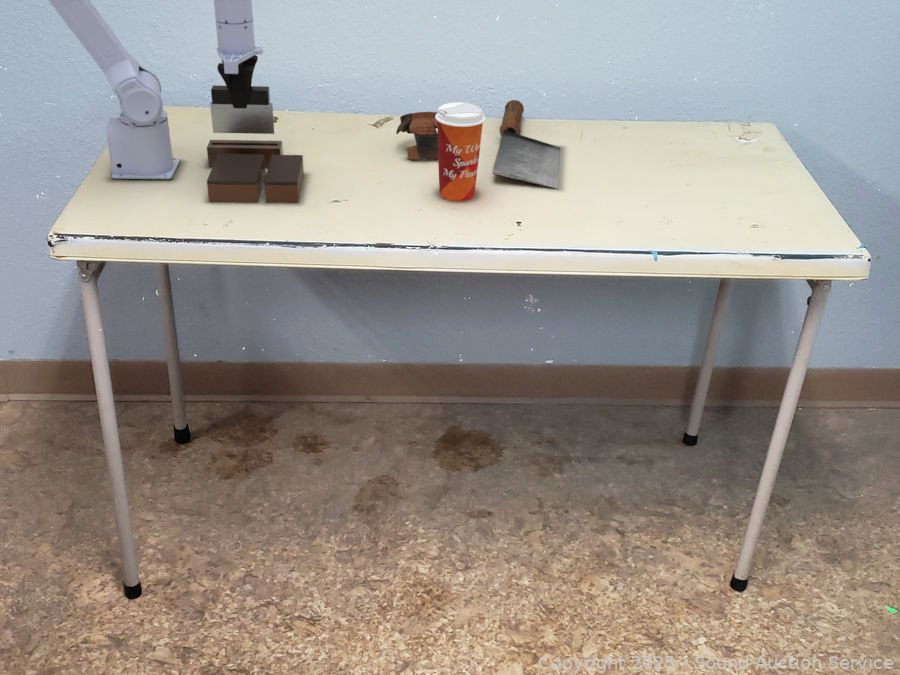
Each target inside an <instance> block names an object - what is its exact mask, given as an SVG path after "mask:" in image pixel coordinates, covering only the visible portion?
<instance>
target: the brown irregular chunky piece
mask: <svg viewBox="0 0 900 675" xmlns="http://www.w3.org/2000/svg"><path fill="white" fill-rule="evenodd" d="M437 113H438V111H418V112H409V113H406V114H402V115H401V116H400V117H399V119H400V120H399V121H400V123H399V125H398V126H397V128H396V132H395V134H396V135H398V134H399V133H400V132H401V133H407V134H412V135H413V136H414V139H415V144H414V145H411V146H407V147H406V153H407V158H408V160H409V161H410V160H419V159H420V160H421V159H422V160H423V159H425V160H438V130H437V129H438V127H437V120H436V118H435V116H436V114H437Z"/></svg>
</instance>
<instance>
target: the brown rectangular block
mask: <svg viewBox="0 0 900 675" xmlns="http://www.w3.org/2000/svg"><path fill="white" fill-rule="evenodd" d="M304 175H305V172H304V155H303V154H283V155H272V157H271V160H270V164H269V167H268V168H267V170H266V176H265V179H264V183H263V185H264V194H265V202H266V203H287V204H288V203H290V204H291V203H293V204H295V203H297V204H298V203H299V201H300V196H301V191H302V186H303V180H304Z"/></svg>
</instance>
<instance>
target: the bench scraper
mask: <svg viewBox="0 0 900 675" xmlns="http://www.w3.org/2000/svg"><path fill="white" fill-rule="evenodd" d="M210 93H211V94H210V95H211V101H210V102H209V105H210V113H211V115H210V116H211V125H212V133H213V134H253V135H254V134H255V135H257V134H258V135H259V134H260V135H275V122H274V121H275V120H274V104H273V102H271V98H270V97H271V96H270V86H261V85H259V86H258V85H257V86H256V85H251V86H249V96H248V104H247V108H234V107H233V105H232V102H231V99H230V95H229V92H228V89H227V86H226V85H212V87H211V89H210Z"/></svg>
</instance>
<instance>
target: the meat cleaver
mask: <svg viewBox="0 0 900 675" xmlns="http://www.w3.org/2000/svg"><path fill="white" fill-rule="evenodd" d="M524 111H525V107H524V105H523V103H522V102H521V101H519V100H517V99H511V100H509V101H507V102H506V104H505V106H504V113H503V118H502V122H501V125H500V127H499V134H500V136H501V140H500V143H499V147H498V150H497V153H496V157H495V160H494V164H493V168H492V171H491V173H492V174H494V175H498V176H502V177H506V178H510V179H514V180H518V181H522V182H523V181H524V182H527V183H532V184H536V185H539V186H545V187H547V188H551V189H557V190H558V189H559V174H560V164H561V163H560V162H561V149H562V148H561V147H560V146H557V145H554V144H550V143H547V142H545V141H540V140H537V139H534V138H531V137H529V136H525V135H522V134H521V125H522V120H523V114H524Z"/></svg>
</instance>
